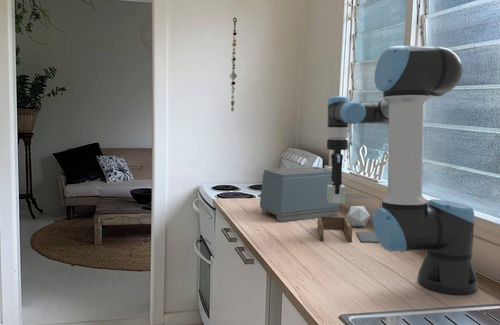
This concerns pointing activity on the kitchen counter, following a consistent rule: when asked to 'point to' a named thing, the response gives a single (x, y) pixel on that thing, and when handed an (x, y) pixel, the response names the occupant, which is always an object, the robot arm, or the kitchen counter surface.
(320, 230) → the brown u-shaped bracket
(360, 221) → the die
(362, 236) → the mat
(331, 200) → the block
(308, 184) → the toaster
